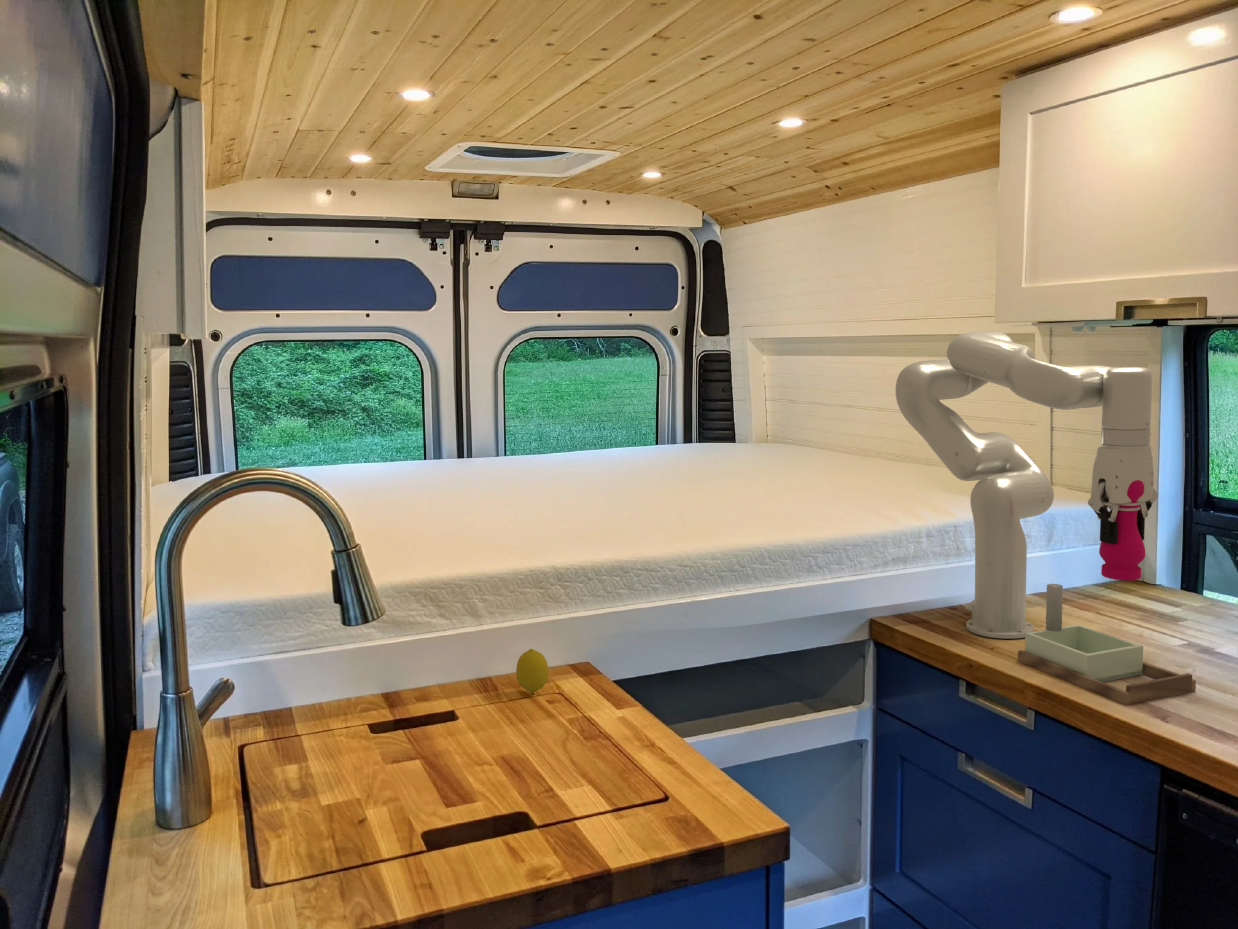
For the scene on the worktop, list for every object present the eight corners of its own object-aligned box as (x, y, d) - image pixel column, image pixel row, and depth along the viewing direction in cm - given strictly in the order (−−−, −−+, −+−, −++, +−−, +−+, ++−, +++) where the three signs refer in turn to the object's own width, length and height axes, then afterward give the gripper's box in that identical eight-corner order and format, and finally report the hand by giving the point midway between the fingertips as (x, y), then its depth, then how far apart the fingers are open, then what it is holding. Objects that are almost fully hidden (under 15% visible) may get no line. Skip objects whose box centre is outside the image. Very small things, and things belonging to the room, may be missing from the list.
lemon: (548, 698, 165) (546, 653, 164) (515, 699, 165) (513, 654, 164) (550, 687, 171) (548, 643, 170) (519, 688, 171) (516, 644, 170)
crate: (1021, 658, 173) (1022, 587, 171) (1074, 649, 177) (1075, 580, 175) (1086, 685, 159) (1088, 608, 158) (1142, 674, 163) (1144, 599, 161)
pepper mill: (1152, 581, 167) (1158, 466, 165) (1111, 581, 167) (1116, 467, 165) (1130, 571, 175) (1135, 461, 172) (1090, 572, 175) (1095, 462, 172)
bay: (1017, 667, 172) (1018, 645, 172) (1081, 656, 177) (1081, 634, 177) (1125, 712, 150) (1126, 687, 150) (1195, 698, 155) (1196, 674, 155)
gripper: (1143, 433, 174) (1140, 532, 177) (1070, 440, 168) (1067, 542, 171) (1180, 437, 167) (1176, 540, 170) (1105, 443, 161) (1102, 550, 164)
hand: (1121, 540), depth 170 cm, fingers closed on pepper mill, 5 cm apart
